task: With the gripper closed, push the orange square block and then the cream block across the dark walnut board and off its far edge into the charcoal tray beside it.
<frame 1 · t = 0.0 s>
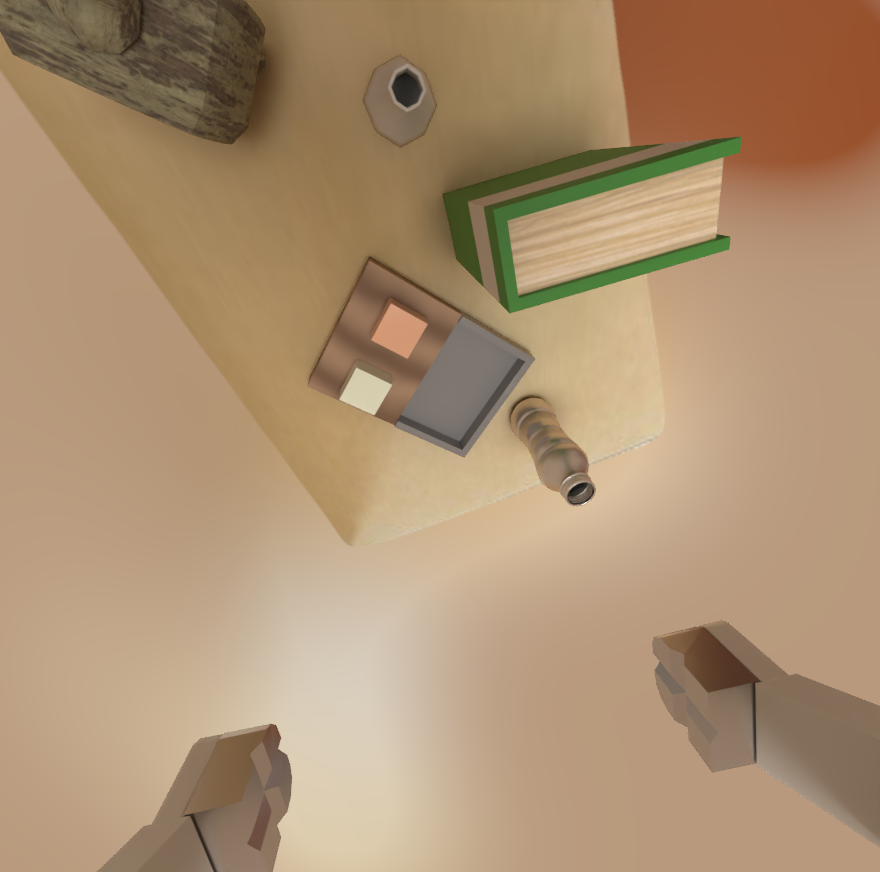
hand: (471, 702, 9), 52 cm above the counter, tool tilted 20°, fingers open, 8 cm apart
orange square block: (398, 324, 55), point 2 cm above the counter, touching walnut board
plastic bottle: (527, 411, 67), on the counter
tabletop clock: (195, 66, 42), on the counter
flask: (399, 103, 46), on the counter
hardback book: (520, 207, 52), on the counter
walnut board: (382, 344, 58), on the counter
cream block: (365, 382, 58), point 2 cm above the counter, touching walnut board
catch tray: (459, 384, 63), on the counter
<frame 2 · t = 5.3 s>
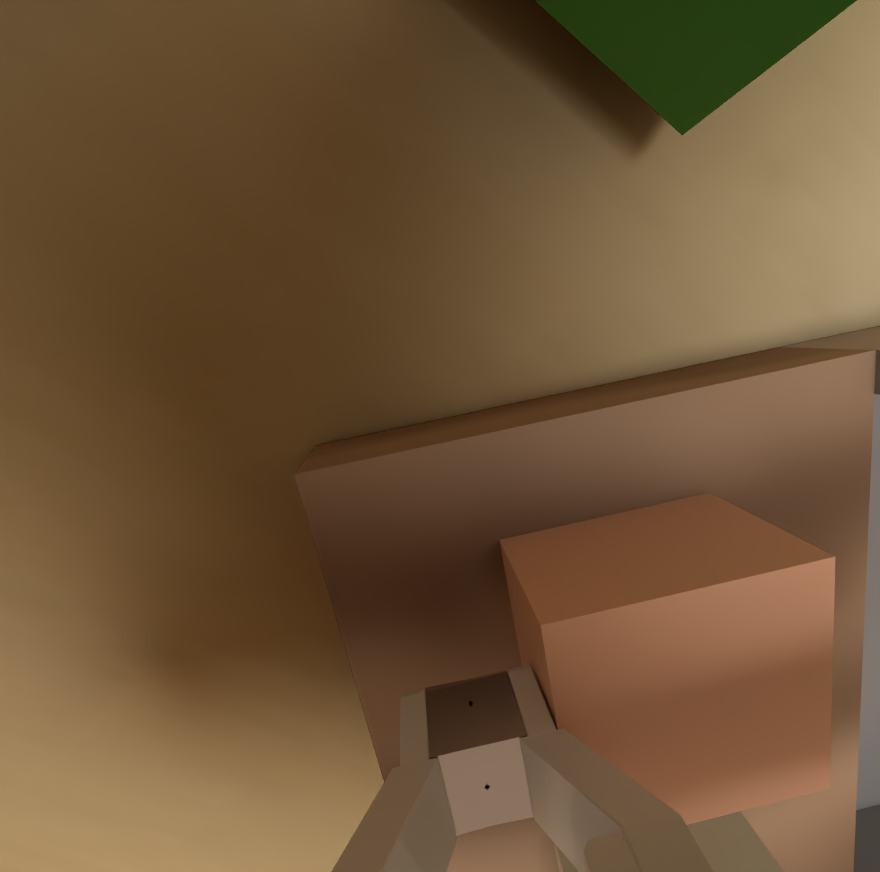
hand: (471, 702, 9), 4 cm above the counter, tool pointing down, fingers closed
orange square block: (616, 609, 11), point 2 cm above the counter, touching gripper, walnut board
walnut board: (590, 669, 14), on the counter
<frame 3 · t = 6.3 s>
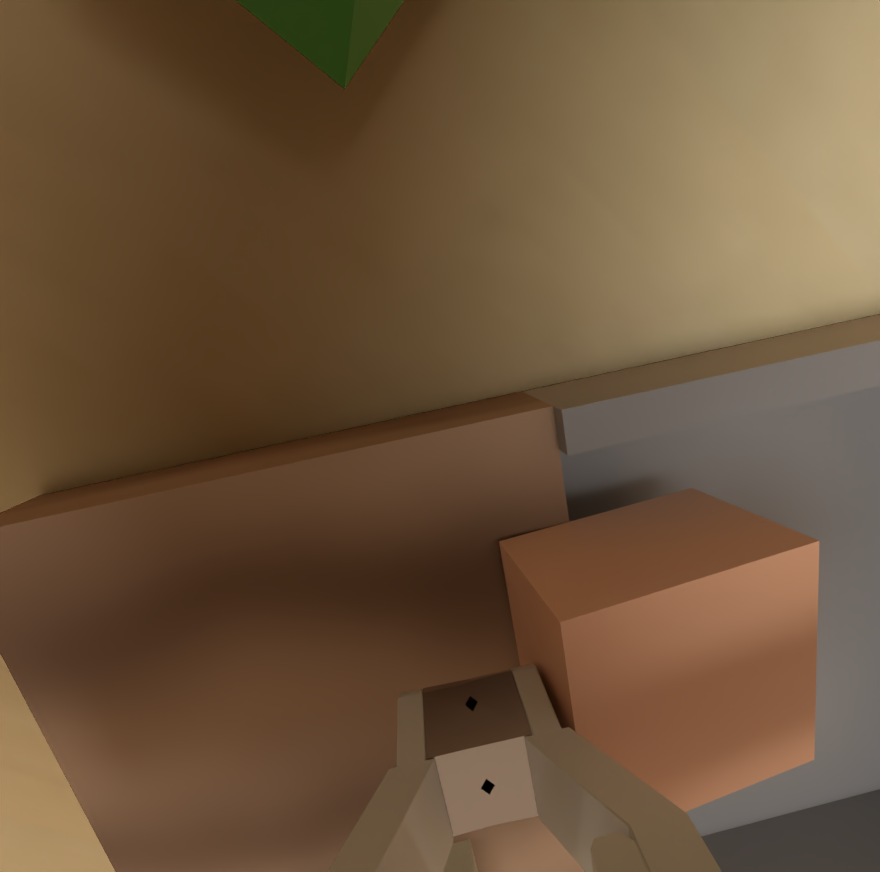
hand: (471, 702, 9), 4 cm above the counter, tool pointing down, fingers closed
orange square block: (609, 605, 11), point 2 cm above the counter, tilted 6°, touching gripper
walnut board: (366, 712, 14), on the counter
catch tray: (740, 620, 14), on the counter
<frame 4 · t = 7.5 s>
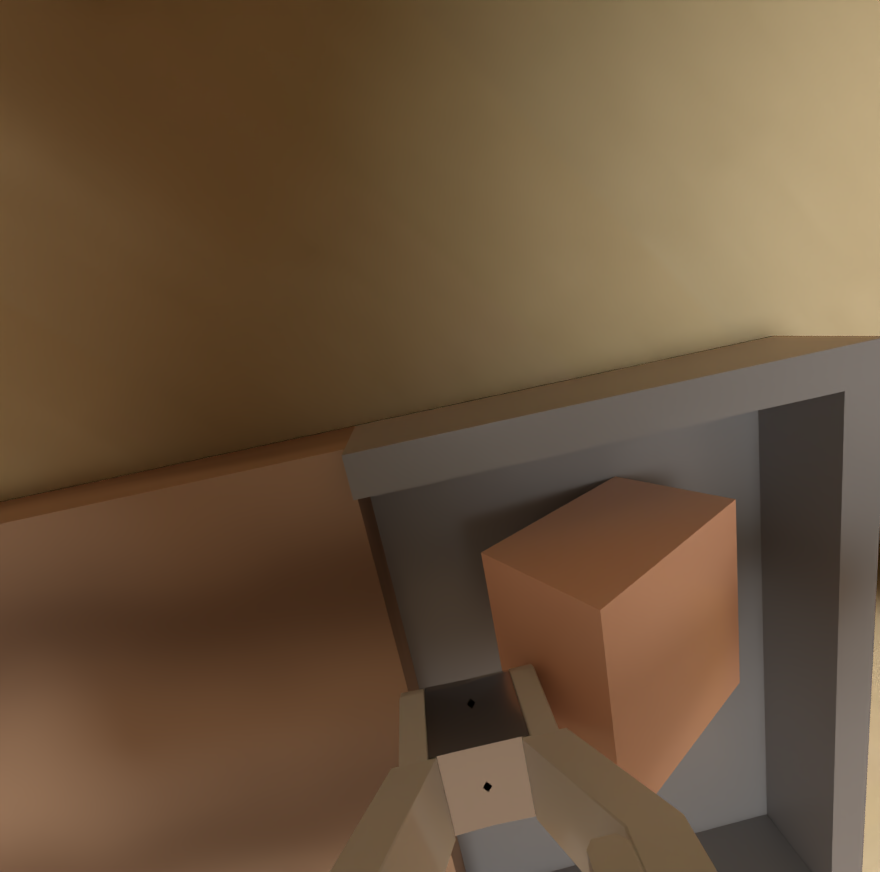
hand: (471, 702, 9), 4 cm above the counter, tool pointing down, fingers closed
orange square block: (567, 596, 11), point 2 cm above the counter, tilted 30°, touching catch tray, gripper
walnut board: (220, 744, 14), on the counter
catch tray: (603, 650, 14), on the counter
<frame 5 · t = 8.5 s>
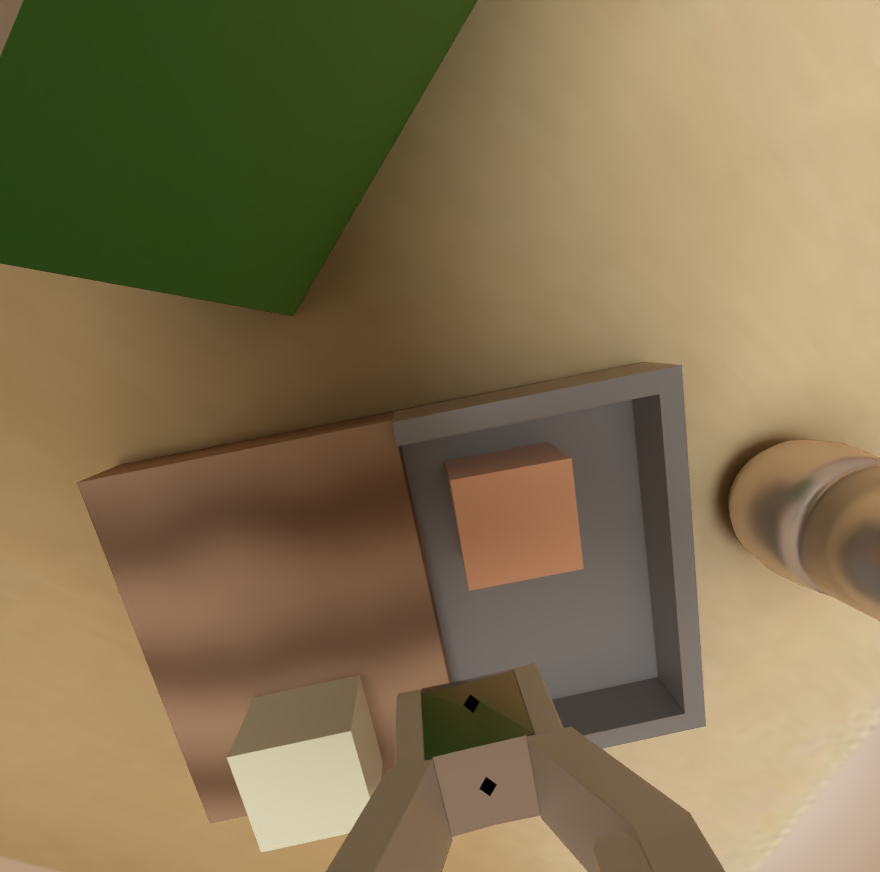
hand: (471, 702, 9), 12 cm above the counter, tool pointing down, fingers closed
orange square block: (504, 500, 21), point 1 cm above the counter, touching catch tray
plastic bottle: (765, 492, 23), on the counter
hardback book: (322, 76, 18), on the counter
walnut board: (305, 607, 22), on the counter
cream block: (319, 730, 21), point 2 cm above the counter, touching walnut board
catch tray: (545, 558, 22), on the counter
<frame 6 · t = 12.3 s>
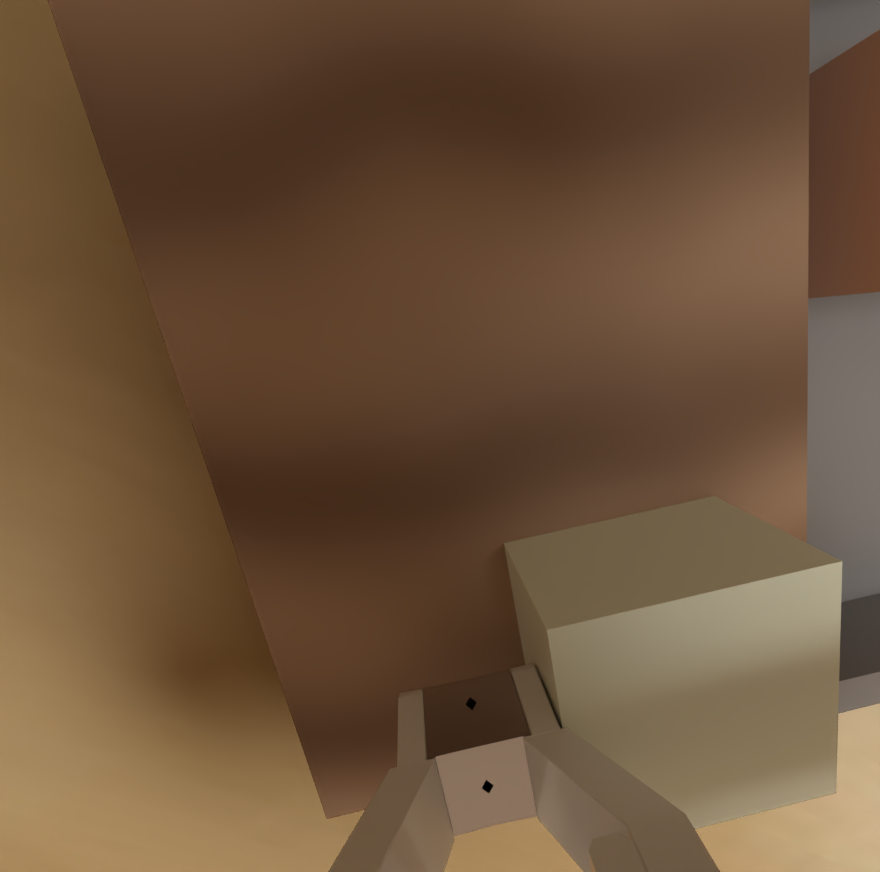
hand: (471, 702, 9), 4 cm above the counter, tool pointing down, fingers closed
walnut board: (495, 411, 12), on the counter
cream block: (620, 613, 11), point 3 cm above the counter, touching gripper
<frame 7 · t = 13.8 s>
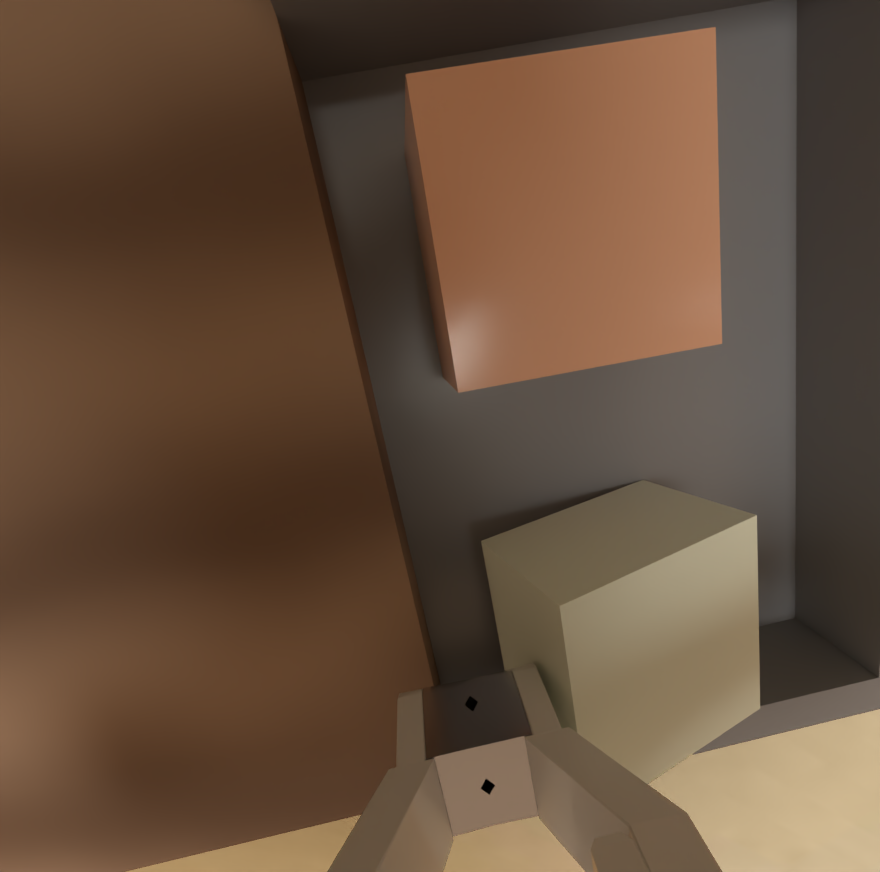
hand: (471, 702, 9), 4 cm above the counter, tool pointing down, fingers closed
orange square block: (528, 254, 10), point 1 cm above the counter, touching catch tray
walnut board: (140, 488, 11), on the counter
cream block: (578, 593, 12), point 1 cm above the counter, tilted 17°, touching gripper
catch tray: (602, 392, 12), on the counter
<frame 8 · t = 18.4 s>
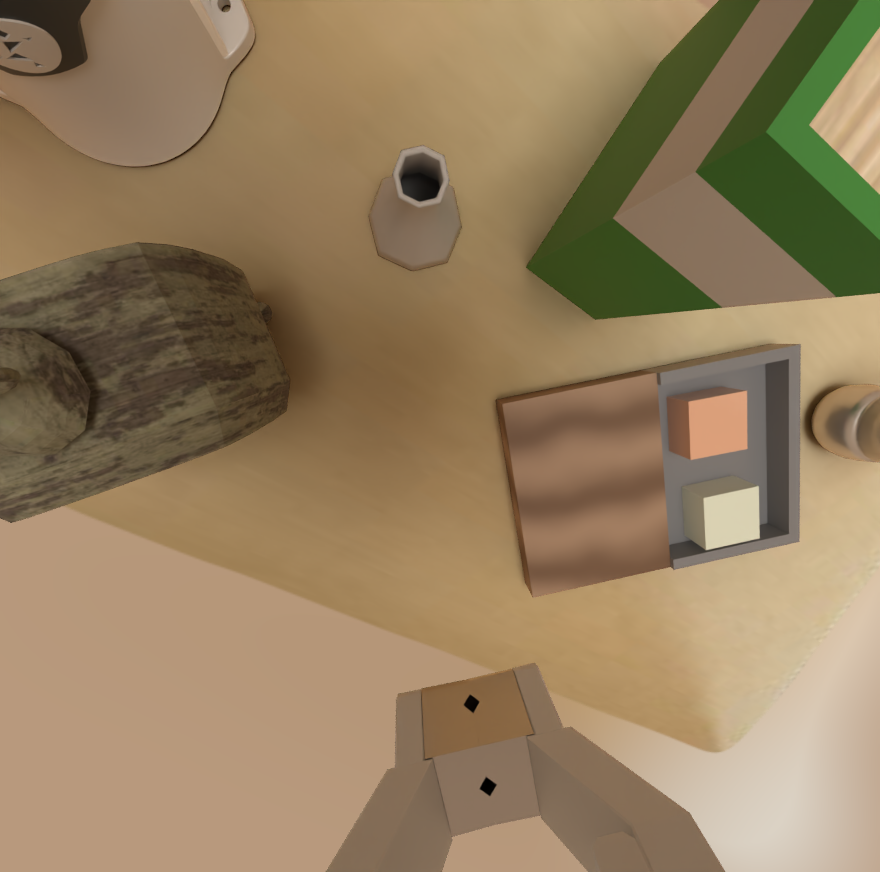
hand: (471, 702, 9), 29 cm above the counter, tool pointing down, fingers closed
orange square block: (694, 419, 39), point 1 cm above the counter, touching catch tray
plastic bottle: (829, 416, 41), on the counter
tabletop clock: (217, 368, 35), on the counter
flask: (415, 223, 34), on the counter
hardback book: (624, 199, 35), on the counter
walnut board: (580, 481, 40), on the counter
cream block: (708, 505, 41), point 1 cm above the counter, touching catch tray
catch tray: (710, 453, 40), on the counter
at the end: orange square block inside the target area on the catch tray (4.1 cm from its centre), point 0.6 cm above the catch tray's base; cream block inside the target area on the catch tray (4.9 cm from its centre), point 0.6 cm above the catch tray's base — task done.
